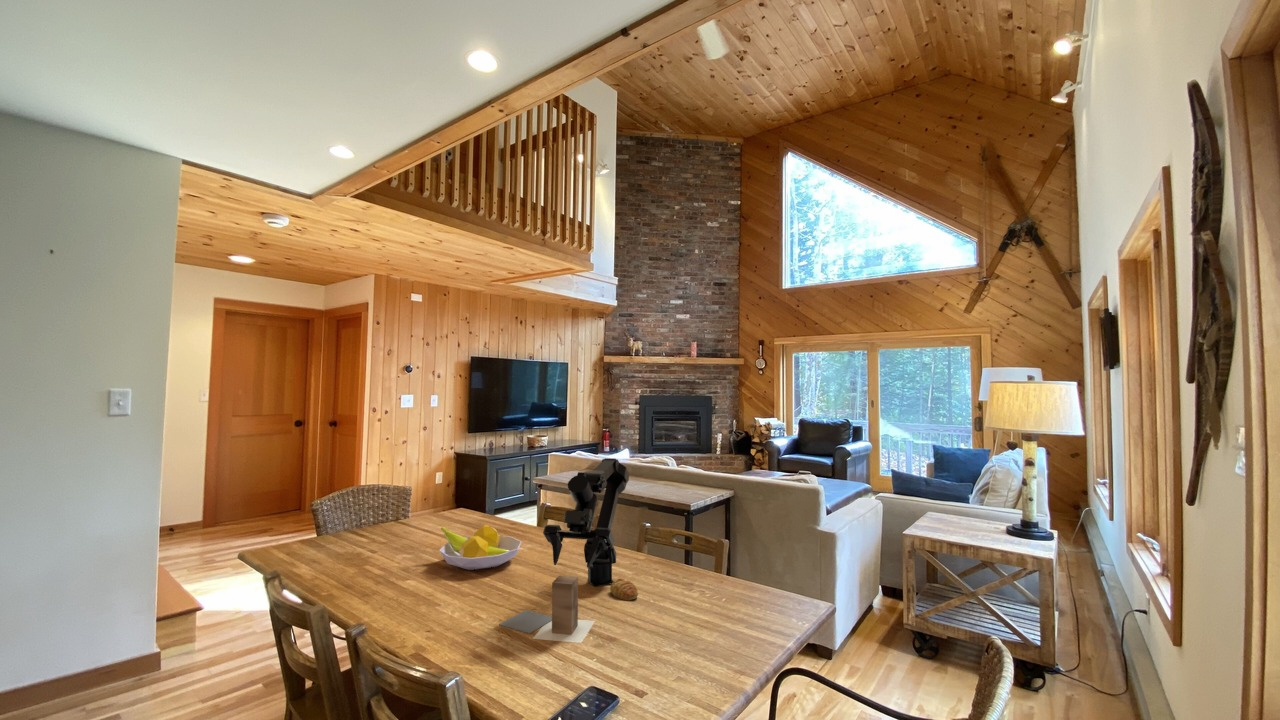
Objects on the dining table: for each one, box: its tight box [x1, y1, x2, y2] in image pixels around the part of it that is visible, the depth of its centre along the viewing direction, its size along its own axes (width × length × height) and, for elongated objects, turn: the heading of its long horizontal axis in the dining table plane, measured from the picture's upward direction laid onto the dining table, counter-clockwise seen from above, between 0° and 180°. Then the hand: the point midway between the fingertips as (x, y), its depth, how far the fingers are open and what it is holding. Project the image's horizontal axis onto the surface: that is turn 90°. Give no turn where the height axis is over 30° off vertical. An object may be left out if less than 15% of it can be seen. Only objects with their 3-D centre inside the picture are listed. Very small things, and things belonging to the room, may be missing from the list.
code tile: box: [532, 619, 596, 644], centre depth 134 cm, size 12×12×1 cm
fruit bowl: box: [439, 524, 522, 571], centre depth 186 cm, size 28×27×11 cm
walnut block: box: [551, 575, 579, 635], centre depth 134 cm, size 5×5×12 cm
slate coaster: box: [498, 609, 552, 635], centre depth 138 cm, size 10×10×1 cm
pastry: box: [609, 577, 639, 602], centre depth 157 cm, size 9×7×4 cm
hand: (571, 565), depth 143 cm, fingers open, 9 cm apart
